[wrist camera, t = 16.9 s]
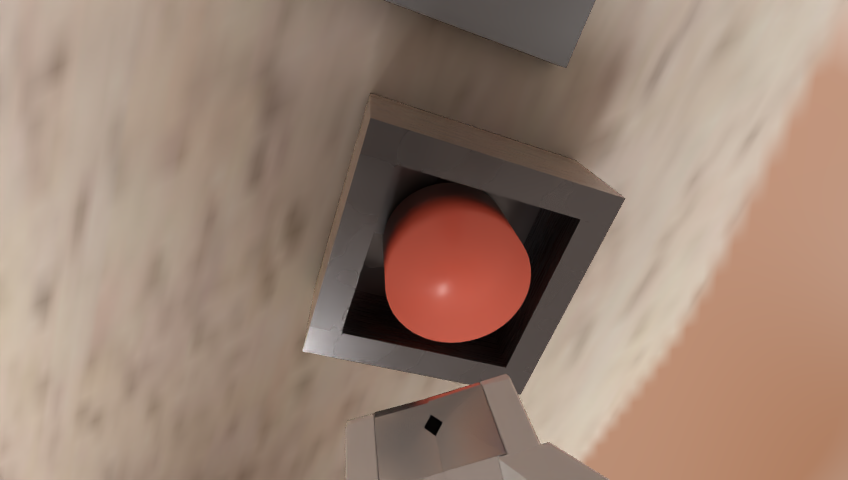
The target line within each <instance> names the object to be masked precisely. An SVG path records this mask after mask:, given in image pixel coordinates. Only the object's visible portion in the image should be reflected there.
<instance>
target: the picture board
mask: <svg viewBox="0 0 848 480" xmlns="http://www.w3.org/2000/svg"><path fill="white" fill-rule="evenodd" d="M385 1H388V2H390V3H393V4H396V5H398V6H401V7H404V8H406V9H409V10H412V11H414V12H417V13H420V14H422V15H425V16H428V17H430V18H433V19H436V20H438V21H441V22H444V23H446V24H449V25H452V26H454V27H457V28H460V29H462V30H465V31H468V32H470V33H473V34H476V35H478V36H481V37H484V38H486V39H489V40H492V41H494V42H497V43H500V44H502V45H505V46H508V47H510V48H513V49H516V50H518V51H521V52H524V53H526V54H529V55H532V56H534V57H537V58H540V59H542V60H545V61H548V62H550V63H553V64H556V65H559V66H562V67H565V68H566V67H567V65H568V63H569V60H570V58H571V56H572V53H573V51H574V49H575V46H576V44H577V42H578V39H579V37H580V35H581V32H582V30H583V28H584V26H585V23H586V21H587V19H588V16H589V14H590V12H591V9H592V7H593V5H594V2H595V0H385Z"/></svg>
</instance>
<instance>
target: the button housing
mask: <svg viewBox="0 0 848 480" xmlns="http://www.w3.org/2000/svg"><path fill="white" fill-rule="evenodd" d="M440 183H460V184H463V185H466V186H470V187H473V188H477V189H478V190H480V191H482V192H484V193H485V194H487V195H488V196H489V197H490V198H491V199H492V200H494V201H495V203H496V204H497V205H498V207H499V208H500V209H501V211H502V212H503V214H504V216H505V217H506V219H507V220H508V222H509V224H510V225H511V227H512V228H513V230H514V231H515V233H516V235H517V236H518V238H519V239H520V241H521V242H522V244H523V246H524V248H525V250H526V252H527V254H528V257H529V261H530V266H531V280H530V286H529V290H528V293H527V295H526V298H525V300H524V302H523V303H522V305H521V307H520V308H519V310H518V311H517V312H516V314H515V315H514V316H513V317H512V318H511V319H510V320H509V321H508V322H506V323H505V324H504V325H503V326H501V327H500V328H498V329H497V330H495V331H494V332H492V333H490V334H488V335H486V336H483V337H481V338H478V339H474V340H470V341H465V342H455V343H448V342H438V341H433V340H429V339H426V338H424V337H421V336H419V335H417V334H415V333H413V332H412V331H410V330H409V329H407V328H406V327H405V326H404V325H403V324H402V323H401V322H400V321H399V320H398V319H397V318H396V316H395V315H394V314H393V312H392V310H391V308H390V306H389V303H388V300H387V296H386V291H385V274H384V256H383V235H384V231H385V227H386V224H387V222H388V219H389V218H390V216H391V214H392V212H393V211H394V210H395V209H396V207H397V206H398V205H399V204H400V203H401V202H402V201H403V200H404V199H405V198H407V197H408V196H409V195H411V194H412V193H414V192H416V191H417V190H420V189H422V188H424V187H427V186H430V185H434V184H440ZM624 200H625V198H624V197H623V196H622V195H620V194H619V193H618V192H616V191H615V190H614V189H612V188H611V187H610V186H608V185H607V184H606V183H605V182H603V181H602V180H601V179H599V178H598V177H597V176H595V175H594V174H593V173H592V172H590V171H589V170H588V169H586V168H585V167H584V166H582V165H581V164H580V163H579V162H577V161H576V160H573V159H570V158H567V157H564V156H561V155H558V154H555V153H552V152H549V151H546V150H543V149H540V148H537V147H534V146H531V145H528V144H525V143H522V142H518V141H515V140H512V139H509V138H506V137H503V136H500V135H497V134H494V133H491V132H488V131H485V130H482V129H479V128H476V127H473V126H470V125H467V124H464V123H461V122H458V121H454V120H451V119H448V118H445V117H442V116H439V115H436V114H433V113H430V112H427V111H424V110H421V109H418V108H415V107H412V106H409V105H406V104H403V103H400V102H397V101H394V100H390V99H387V98H384V97H381V96H378V95H375V94H372V93H370V95H369V98H368V102H367V105H366V109H365V112H364V116H363V119H362V123H361V127H360V130H359V134H358V137H357V141H356V144H355V148H354V151H353V155H352V158H351V162H350V165H349V169H348V172H347V176H346V179H345V183H344V186H343V190H342V193H341V197H340V200H339V204H338V207H337V211H336V214H335V218H334V221H333V225H332V228H331V232H330V235H329V239H328V242H327V246H326V249H325V253H324V256H323V260H322V264H321V267H320V271H319V274H318V278H317V281H316V285H315V288H314V293H313V299H312V304H311V309H310V315H309V320H308V325H307V330H306V336H305V341H304V346H303V352H308V353H313V354H318V355H323V356H328V357H333V358H338V359H343V360H348V361H353V362H358V363H363V364H369V365H374V366H379V367H384V368H389V369H394V370H399V371H404V372H409V373H414V374H419V375H424V376H429V377H434V378H439V379H444V380H449V381H454V382H460V383H465V384H470V385H472V384H475V383H478V382H479V383H480V382H481V381H484V380H488V379H491V378H494V377H497V376H501V375H504V374H507V375H508V376H509V377H510V379H511V381H512V383H513V385H514V387H515V389H516V392H517V394H520V395H521V393H522V391H523V389H524V387H525V385H526V383H527V381H528V380H529V378H530V376H531V374H532V372H533V370H534V368H535V366H536V365H537V363H538V361H539V359H540V357H541V355H542V353H543V351H544V350H545V348H546V346H547V344H548V342H549V340H550V338H551V337H552V335H553V333H554V331H555V329H556V327H557V325H558V323H559V322H560V320H561V318H562V316H563V314H564V312H565V310H566V308H567V307H568V305H569V303H570V301H571V299H572V297H573V295H574V293H575V292H576V290H577V288H578V286H579V284H580V282H581V280H582V278H583V277H584V275H585V273H586V271H587V269H588V267H589V265H590V263H591V262H592V260H593V258H594V256H595V254H596V252H597V250H598V248H599V247H600V245H601V243H602V241H603V239H604V237H605V235H606V233H607V232H608V230H609V228H610V226H611V224H612V222H613V220H614V218H615V217H616V215H617V213H618V211H619V209H620V207H621V205H622V203H623V202H624Z"/></svg>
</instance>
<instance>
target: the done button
mask: <svg viewBox="0 0 848 480" xmlns="http://www.w3.org/2000/svg"><path fill="white" fill-rule="evenodd" d="M383 256H384V274H385V291H386V296H387V300H388V303H389V306H390V308H391V310H392V312H393V314H394V315H395V316H396V318H397V319H398V320H399V321H400V322H401V323H402V324H403V325H404V326H405V327H406V328H407V329H409V330H410V331H412V332H413V333H415V334H417V335H419V336H421V337H424V338H426V339H429V340H433V341H438V342H448V343H455V342H465V341H470V340H474V339H478V338H481V337H483V336H486V335H488V334H490V333H492V332H494V331H495V330H497V329H498V328H500V327H501V326H503V325H504V324H505V323H506V322H508V321H509V320H510V319H511V318H512V317H513V316H514V315H515V314H516V312H517V311H518V310H519V308H520V307H521V305H522V303H523V302H524V300H525V298H526V295H527V293H528V290H529V286H530V280H531V266H530V261H529V257H528V254H527V252H526V250H525V248H524V246H523V244H522V242H521V241H520V239H519V238H518V236H517V235H516V233H515V231H514V230H513V228H512V227H511V225H510V224H509V222H508V220H507V219H506V217H505V216H504V214H503V212H502V211H501V209H500V208H499V207H498V205H497V204H496V203H495V201H494V200H492V199H491V198H490V197H489V196H488V195H487V194H485V193H484V192H482V191H480V190H478V189H477V188H473V187H470V186H466V185H463V184H460V183H440V184H434V185H430V186H427V187H424V188H422V189H420V190H417V191H416V192H414V193H412V194H411V195H409V196H408V197H407V198H405V199H404V200H403V201H402V202H401V203H400V204H399V205H398V206H397V207H396V209H395V210H394V211H393V212H392V214H391V216H390V218H389V219H388V222H387V224H386V227H385V231H384V235H383Z"/></svg>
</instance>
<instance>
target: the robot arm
mask: <svg viewBox="0 0 848 480" xmlns="http://www.w3.org/2000/svg"><path fill="white" fill-rule="evenodd" d="M345 476H346V480H609V479H608V478H606V477H604V476H603V475H601V474H600V473H598V472H596V471H595V470H593V469H591V468H590V467H588V466H587V465H585V464H583V463H582V462H580V461H579V460H577V459H575V458H574V457H572V456H571V455H569V454H567V453H566V452H564V451H563V450H561V449H559V448H558V447H556V446H555V445H553V444H551V443H550V442H548V443H545V444H540V442H539V440H538V437H537V435H536V433H535V431H534V429H533V426H532V424H531V422H530V420H529V418H528V416H527V413H526V411H525V409H524V407H523V405H522V403H521V400H520V398H519V396H518V394H517V392H516V389H515V387H514V385H513V383H512V381H511V379H510V377H509V376H508V375H507V374H504V375H501V376H497V377H494V378H491V379H488V380H484V381H481V382H480V383H479V382H478V383H475V384H472V385H469V386H465V387H462V388H459V389H455V390H452V391H449V392H446V393H442V394H439V395H436V396H432V397H429V398H427V399H423V400H419V401H416V402H412V403H408V404H405V405H401V406H397V407H393V408H390V409H386V410H382V411H378V412H375V413H374V414H370V415H366V416H362V417H358V418H354V419H351V420H347V424H346V427H345Z"/></svg>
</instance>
